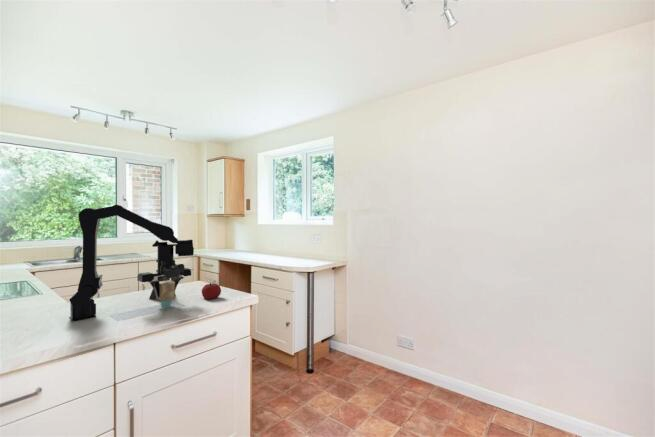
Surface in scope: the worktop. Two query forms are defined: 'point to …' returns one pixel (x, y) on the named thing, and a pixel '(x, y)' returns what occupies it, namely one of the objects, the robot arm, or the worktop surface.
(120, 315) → the board
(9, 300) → the worktop surface
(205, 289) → the red apple
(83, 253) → the robot arm
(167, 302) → the post
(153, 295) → the phone stand
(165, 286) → the wooden block
